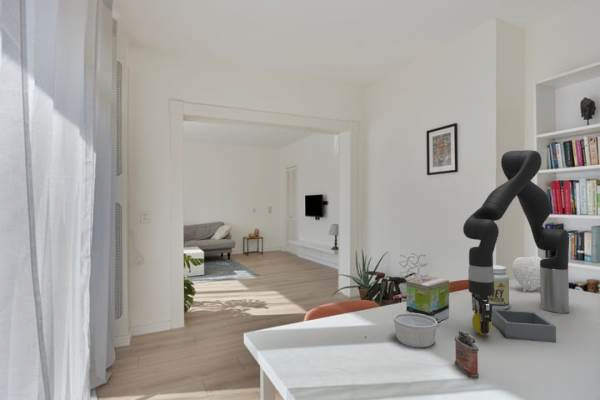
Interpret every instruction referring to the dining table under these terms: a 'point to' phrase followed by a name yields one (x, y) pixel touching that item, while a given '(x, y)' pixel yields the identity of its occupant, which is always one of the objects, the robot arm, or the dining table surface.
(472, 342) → the lighter
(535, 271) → the white textured ornament
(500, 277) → the supplement tub
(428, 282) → the tea box
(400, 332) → the ramekin
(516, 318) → the bin
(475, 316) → the lemon
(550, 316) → the dining table surface
